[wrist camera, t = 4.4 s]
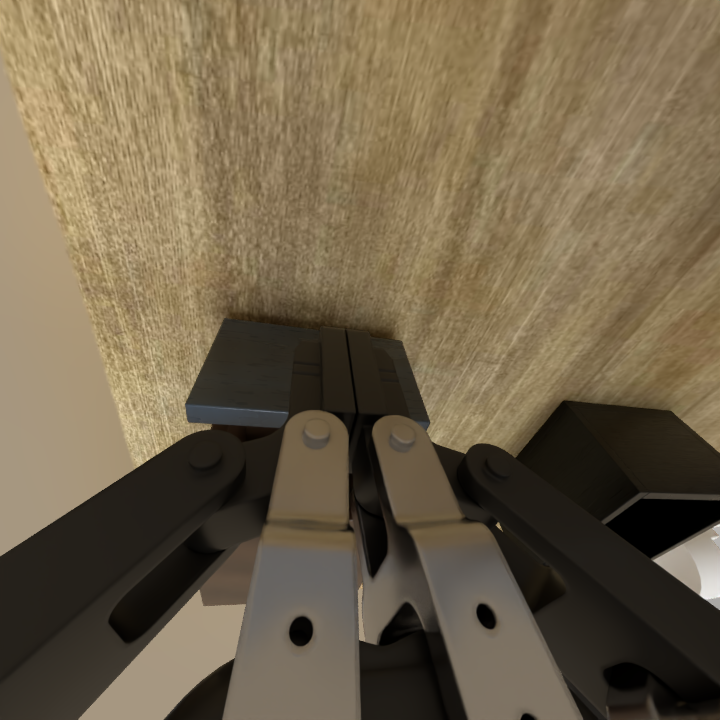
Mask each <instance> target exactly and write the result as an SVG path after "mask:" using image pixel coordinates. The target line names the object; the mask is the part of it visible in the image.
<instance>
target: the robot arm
mask: <svg viewBox="0 0 720 720" xmlns="http://www.w3.org/2000/svg"><path fill="white" fill-rule="evenodd" d="M349 473H352V475H353V485H354V486H353V489H352V492H351V495H350V506H351V512H352V518H353V524H354V529H353V527H351V526H350V522H349ZM498 522H499V523H500V524H502V525H503V526H504V527H505V528H506V529H507V530H508V531H510V532H511V533H512V534H513V535H514V536H515V537H516V538H518V539H519V540H520V541H521V542H522V543H523V544H524V545H526V546H527V547H528V548H529V549H530V550H531V551H532V552H534V553H535V554H536V555H537V556H538V557H539V558H540V559H542V560H543V561H544V562H545V563H546V564H547V565H548V566H550V567H548V566H544V565H542V564H540V563H538V562H537V561H535V560H534V559H533V558H532V557H530V556H529V555H528V554H527V553H526V552H525V551H524V550H523V549H521V548H520V547H519V546H518V545H517V544H516V543H515V542H514V541H512V540H511V539H510V538H509V537H508V536H507V535H506V534H505V533H503V532H502V531H501V530H500V529H499V528H498V527H497V526H496V524H497V523H498ZM354 530H355V531H354ZM257 537H260V540H259V544H258V549H257V554H256V559H255V564H254V568H253V573H252V578H251V583H250V588H249V593H248V597H247V602H246V607H245V612H244V617H243V622H242V626H241V631H240V636H239V641H238V646H237V651H236V656H235V658H234V659H232V660H231V661H229V662H227V663H226V664H224V665H222V666H221V667H219V668H218V669H217V670H215V671H214V672H212V673H211V674H210V675H209V676H207V677H206V678H205V679H203V680H202V681H201V682H200V683H199V684H197V685H196V686H195V687H194V688H193V689H192V690H191V691H190V692H189V693H188V694H187V695H186V696H185V697H184V698H183V699H182V700H181V701H180V702H179V703H178V704H177V705H176V707H175V708H174V709H173V710H172V711H171V712H170V713H169V714H168V715H167V717H166V718H165V719H164V720H599V719H598V718H597V717H596V716H595V715H594V714H593V713H592V712H591V710H590V709H589V708H588V707H587V706H586V705H585V704H584V703H583V702H582V701H581V700H580V699H579V697H578V696H577V695H576V694H575V693H574V692H573V691H572V690H571V689H570V688H569V687H568V686H567V684H566V683H565V681H564V679H563V676H562V674H563V675H564V676H565V677H566V678H567V679H568V680H569V681H570V682H571V683H572V684H573V685H574V686H575V687H576V688H577V689H578V690H579V691H580V692H581V693H582V694H583V695H584V696H585V697H586V698H587V699H588V700H589V701H590V702H591V703H592V704H593V705H594V706H595V707H596V708H597V710H598V711H599V712H600V713H601V714H602V715H603V716H604V717H605V718H606V719H607V720H720V610H718V609H717V608H716V607H714V606H713V605H712V604H710V603H709V602H708V601H706V600H705V599H704V598H702V597H701V596H700V595H698V594H697V593H696V592H694V591H693V590H692V589H690V588H689V587H688V586H686V585H685V584H684V583H682V582H681V581H680V580H678V579H677V578H675V577H674V576H673V575H671V574H670V573H669V572H667V571H666V570H665V569H663V568H662V567H661V566H659V565H658V564H657V563H655V562H654V561H653V560H651V559H650V558H649V557H647V556H646V555H645V554H643V553H642V552H641V551H639V550H638V549H637V548H635V547H634V546H633V545H631V544H630V543H629V542H627V541H626V540H624V539H623V538H622V537H620V536H619V535H618V534H616V533H615V532H614V531H612V530H611V529H610V528H608V527H607V526H606V525H604V524H603V523H602V522H600V521H599V520H598V519H596V518H595V517H594V516H592V515H591V514H590V513H588V512H587V511H586V510H584V509H583V508H582V507H580V506H579V505H577V504H576V503H575V502H573V501H572V500H571V499H569V498H568V497H567V496H565V495H564V494H563V493H561V492H560V491H559V490H557V489H556V488H555V487H553V486H552V485H551V484H549V483H548V482H547V481H545V480H544V479H543V478H541V477H540V476H539V475H537V474H536V473H535V472H533V471H532V470H530V469H529V468H528V467H526V466H525V465H524V464H522V463H521V462H520V461H518V460H517V459H516V458H514V457H513V456H512V455H510V454H509V453H508V452H506V451H505V450H503V449H501V448H499V447H497V446H494V445H490V444H476V445H473V446H472V447H471V448H470V449H469V450H468V452H467V453H466V454H464V453H461V452H458V451H455V450H452V449H449V448H446V447H442V446H440V445H437V444H435V443H433V442H431V440H430V437H429V435H428V433H427V432H426V431H425V429H424V428H423V427H422V426H421V425H419V424H418V423H417V422H415V421H414V420H412V419H411V416H410V413H409V410H408V407H407V404H406V400H405V397H404V394H403V391H402V388H401V384H400V383H399V378H398V375H397V373H396V368H395V365H394V362H393V359H392V358H391V357H390V356H389V355H388V353H387V352H386V351H385V350H384V349H381V348H373V345H372V341H371V337H370V333H369V332H368V331H360V330H352V329H343V328H334V327H326V326H321V327H320V332H319V339H318V342H315V341H306V340H302V341H301V342H300V344H299V345H298V346H297V347H296V348H295V350H294V359H293V369H292V379H291V388H290V399H289V410H288V417H287V420H286V421H285V423H284V424H283V425H282V426H281V428H279V429H278V430H277V431H276V432H274V433H272V434H270V435H268V436H266V437H262V438H259V439H255V440H250V441H246V442H241V441H240V440H239V439H238V438H237V437H236V436H234V435H233V434H231V433H228V432H226V431H221V430H204V431H199V432H196V433H193V434H190V435H188V436H186V437H184V438H183V439H181V440H179V441H178V442H176V443H175V444H173V445H172V446H170V447H168V448H167V449H165V450H164V451H162V452H161V453H159V454H158V455H156V456H155V457H153V458H152V459H150V460H148V461H147V462H145V463H144V464H142V465H141V466H139V467H138V468H136V469H135V470H133V471H132V472H130V473H128V474H127V475H125V476H124V477H122V478H121V479H119V480H118V481H116V482H114V483H113V484H111V485H110V486H108V487H107V488H105V489H104V490H102V491H101V492H99V493H98V494H96V495H95V496H93V497H91V498H90V499H88V500H87V501H85V502H84V503H82V504H81V505H79V506H78V507H76V508H74V509H73V510H71V511H70V512H68V513H67V514H65V515H64V516H62V517H61V518H59V519H57V520H56V521H54V522H53V523H51V524H50V525H48V526H47V527H45V528H43V529H42V530H40V531H39V532H37V533H36V534H34V535H33V536H31V537H30V538H28V539H27V540H25V541H23V542H22V543H20V544H19V545H17V546H16V547H14V548H13V549H11V550H10V551H8V552H6V553H5V554H3V555H2V556H0V720H78V719H79V717H80V716H82V714H83V713H84V712H85V711H86V710H87V709H88V708H89V707H90V706H91V705H92V704H93V703H94V702H95V701H96V699H97V698H98V697H99V696H100V695H101V694H102V693H103V692H104V691H105V690H106V689H107V688H108V687H109V685H110V684H111V683H112V682H113V681H114V680H115V679H116V678H117V677H118V676H119V675H120V674H121V673H122V672H123V670H124V669H125V668H126V667H127V666H128V665H129V664H130V663H131V662H132V661H133V660H134V659H135V657H136V656H137V655H138V654H139V653H140V652H141V651H142V650H143V649H144V648H145V647H146V646H147V645H148V643H149V642H150V641H151V640H152V639H153V638H154V637H155V636H156V635H157V634H158V633H159V632H160V631H161V630H162V628H164V626H165V625H166V624H167V623H168V622H169V621H170V620H171V619H172V618H173V617H174V616H175V615H176V614H177V612H178V611H179V610H180V609H181V608H182V607H183V606H184V605H185V604H186V603H187V602H188V601H189V599H191V598H192V596H193V595H194V594H195V593H196V592H197V591H198V590H199V589H200V588H201V587H202V586H203V585H204V584H205V582H206V581H207V580H208V579H209V578H210V577H211V576H212V575H213V574H214V573H215V572H216V571H217V570H218V569H219V567H220V566H221V565H222V564H223V563H224V562H225V561H226V560H227V559H228V558H229V557H230V556H231V555H232V554H233V552H234V551H235V550H236V549H237V548H238V547H239V545H240V544H241V543H243V542H246V541H249V540H252V539H254V538H257ZM356 542H357V547H356ZM357 548H358V554H359V560H360V566H361V572H362V580H363V596H362V618H363V627H364V634H365V641H366V642H364V641H360V640H359V624H358V583H357ZM561 673H562V674H561Z"/></svg>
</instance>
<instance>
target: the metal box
mask: <svg viewBox="0 0 720 720" xmlns="http://www.w3.org/2000/svg"><path fill="white" fill-rule="evenodd" d="M516 459H517V460H518V461H520V462H521V463H522V464H524V465H525V466H526V467H528V468H529V469H530V470H532V471H533V472H535V473H536V474H537V475H539V476H540V477H541V478H543V479H544V480H545V481H547V482H548V483H549V484H551V485H552V486H553V487H555V488H556V489H557V490H559V491H560V492H561V493H563V494H564V495H565V496H567V497H568V498H569V499H571V500H572V501H573V502H575V503H576V504H577V505H579V506H580V507H582V508H583V509H584V510H586V511H587V512H588V513H590V514H591V515H592V516H594V517H595V518H596V519H598V520H599V521H600V522H602V523H603V524H604V525H606V526H607V527H608V528H610V529H611V530H612V531H614V532H615V533H616V534H618V535H619V536H620V537H622V538H623V539H624V540H626V541H627V542H629V543H630V544H631V545H633V546H634V547H635V548H637V549H638V550H639V551H641V552H642V553H643V554H645V555H646V556H647V557H649V558H650V559H651V560H655V559H656V558H658V557H660V556H662V555H664V554H665V553H667V552H669V551H671V550H673V549H675V548H676V547H678V546H680V545H682V544H684V543H685V542H687V541H689V540H691V539H693V538H695V537H696V536H698V535H700V534H702V533H704V532H706V531H707V530H709V529H711V528H713V527H715V526H716V525H718V524H720V453H719V452H718V451H717V450H715V449H714V448H713V447H712V446H711V445H710V444H709V443H707V442H706V441H705V440H704V439H703V438H702V437H700V436H699V435H698V434H697V433H696V432H695V431H693V430H692V429H691V428H690V427H689V426H688V425H686V424H685V423H684V422H683V421H682V420H681V419H679V418H678V417H677V416H676V415H675V414H674V413H673V412H672V411H663V410H653V409H643V408H633V407H622V406H612V405H602V404H592V403H582V402H572V401H563V402H562V403H561V405H560V406H559V407H558V408H557V409H556V411H555V412H554V413H553V414H552V415H551V417H550V418H549V419H548V420H547V421H546V423H545V424H544V425H543V426H542V427H541V429H540V430H539V431H538V432H537V433H536V435H535V436H534V437H533V438H532V439H531V441H530V442H529V443H528V444H527V445H526V447H525V448H524V449H523V450H522V451H521V453H520V454H519V455H518V456H517V457H516ZM500 526H501V528H502V530H503V533H505V534H506V535H507V536H508V537H509V538H510V539H511V540H512V541H514V542H515V543H516V544H517V545H518V546H519V547H520V548H521V549H523V550H524V551H525V552H526V553H527V554H528V555H529V556H530V557H532V558H533V559H534V560H535V561H537V562H538V563H540V564H542V565H544V566H548V565H547V564H546V563H545V562H544V561H543V560H542V559H540V558H539V557H538V556H537V555H536V554H535V553H534V552H532V551H531V550H530V549H529V548H528V547H527V546H526V545H524V544H523V543H522V542H521V541H520V540H519V539H518V538H516V537H515V536H514V535H513V534H512V533H511V532H510V531H508V530H507V529H506V528H505V527H504V526H503V525H502V524H500ZM548 567H550V566H548Z"/></svg>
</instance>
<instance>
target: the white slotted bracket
mask: <svg viewBox="0 0 720 720" xmlns="http://www.w3.org/2000/svg"><path fill="white" fill-rule="evenodd" d="M715 527H720V524H718V525H716V526H715ZM715 527H713V528H715ZM718 537H719V535H718V534H717V533H716V532H715V531H714V530H713V529H712V528H711V529H709V530H707V531H706V532H704V533H702V534H700V535H698V536H696V537H695V538H693V539H691V540H689V541H687V542H685V543H684V544H682V545H680V546H678V547H676V548H675V549H673V550H671V551H669V552H667V553H665V554H664V555H662V556H660V557H658V558H656V559H655V560H653V561H654V562H655V563H657V564H658V565H659V566H661V567H662V568H663V569H665V570H666V571H667V572H669V573H670V574H671V575H673V576H674V577H675V578H677V579H678V580H680V581H681V582H682V583H684V584H685V585H686V586H688V587H689V588H690V589H692V590H693V591H694V592H696V593H697V594H698V595H700V596H701V597H702V598H704V599H705V600H706V599H712V598H718V597H720V549H719V548H718V546H717V545H716V544H715V543H714V541H713V540H715V539H716V538H718Z"/></svg>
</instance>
